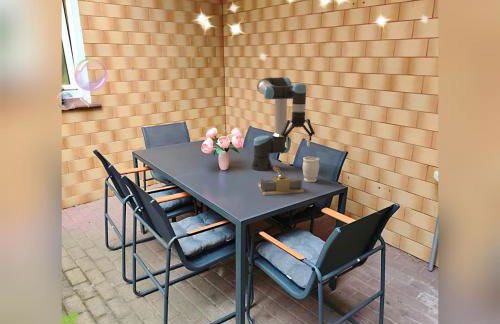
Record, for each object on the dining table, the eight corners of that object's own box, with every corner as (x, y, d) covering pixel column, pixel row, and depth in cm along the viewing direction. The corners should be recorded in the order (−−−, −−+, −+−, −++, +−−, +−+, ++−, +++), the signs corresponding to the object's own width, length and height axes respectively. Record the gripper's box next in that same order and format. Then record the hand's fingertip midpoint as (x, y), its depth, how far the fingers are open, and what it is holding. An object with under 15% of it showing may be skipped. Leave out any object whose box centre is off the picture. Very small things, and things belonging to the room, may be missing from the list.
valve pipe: (260, 189, 216) (260, 176, 214) (297, 186, 221) (298, 174, 218) (263, 194, 209) (263, 181, 207) (301, 191, 213) (302, 178, 211)
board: (257, 184, 225) (257, 182, 225) (295, 182, 229) (295, 180, 229) (263, 195, 208) (263, 193, 208) (304, 192, 212) (304, 190, 212)
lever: (285, 178, 211) (285, 174, 210) (279, 178, 210) (279, 174, 210) (277, 169, 228) (277, 165, 227) (272, 169, 227) (272, 165, 226)
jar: (306, 183, 227) (307, 161, 223) (299, 178, 236) (300, 157, 232) (321, 182, 230) (322, 160, 225) (314, 177, 239) (315, 155, 235)
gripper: (279, 112, 197) (278, 149, 203) (321, 111, 201) (319, 147, 208) (276, 110, 204) (275, 146, 210) (316, 109, 209) (314, 144, 215)
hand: (297, 146), depth 209 cm, fingers open, 13 cm apart
